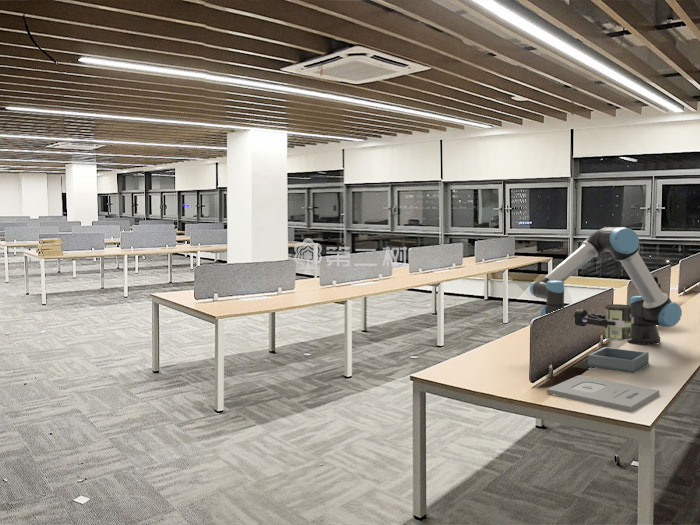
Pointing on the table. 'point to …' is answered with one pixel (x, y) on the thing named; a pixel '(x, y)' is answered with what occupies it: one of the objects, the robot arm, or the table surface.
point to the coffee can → (620, 314)
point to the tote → (618, 359)
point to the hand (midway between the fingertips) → (628, 322)
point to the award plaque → (604, 392)
